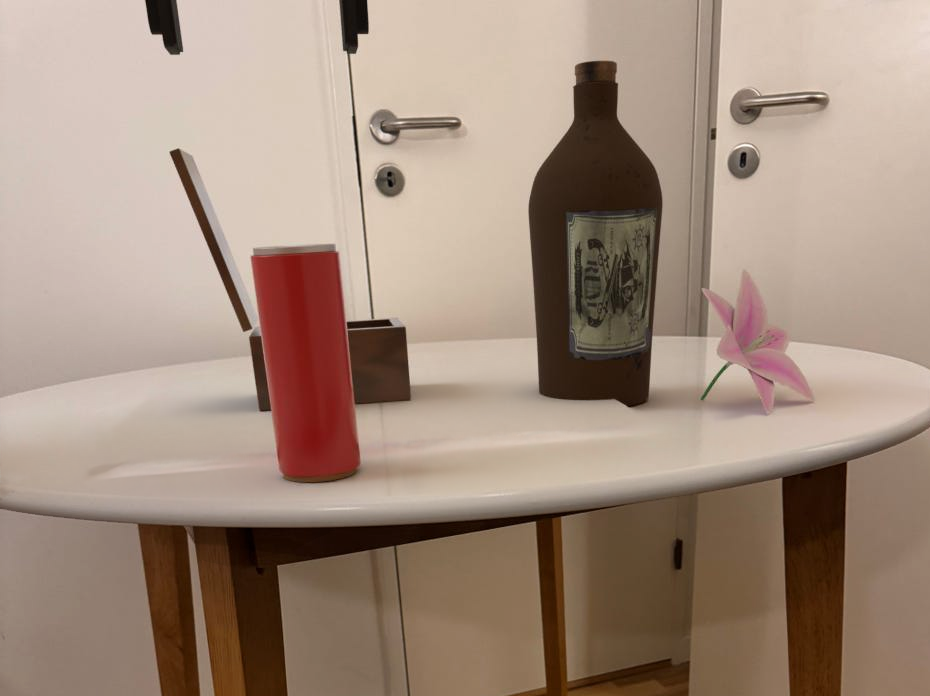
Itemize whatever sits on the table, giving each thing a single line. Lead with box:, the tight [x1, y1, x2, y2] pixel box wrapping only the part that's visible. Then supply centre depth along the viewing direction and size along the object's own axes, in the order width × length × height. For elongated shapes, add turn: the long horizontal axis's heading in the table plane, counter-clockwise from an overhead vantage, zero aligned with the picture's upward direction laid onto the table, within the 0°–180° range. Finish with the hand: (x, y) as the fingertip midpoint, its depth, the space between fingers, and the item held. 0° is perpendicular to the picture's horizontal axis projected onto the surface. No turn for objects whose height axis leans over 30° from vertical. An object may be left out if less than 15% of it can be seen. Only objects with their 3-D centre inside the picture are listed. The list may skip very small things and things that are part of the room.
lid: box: [169, 148, 259, 333], centre depth 76 cm, size 14×8×1 cm
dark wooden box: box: [248, 317, 412, 413], centre depth 82 cm, size 13×8×7 cm, turn 99°
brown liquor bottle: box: [527, 60, 664, 407], centre depth 75 cm, size 11×11×25 cm
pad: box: [282, 467, 358, 483], centre depth 61 cm, size 5×5×1 cm
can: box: [249, 243, 362, 477], centre depth 58 cm, size 5×5×13 cm
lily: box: [700, 269, 816, 416], centre depth 75 cm, size 12×12×10 cm
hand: (263, 50), depth 52 cm, fingers open, 9 cm apart
